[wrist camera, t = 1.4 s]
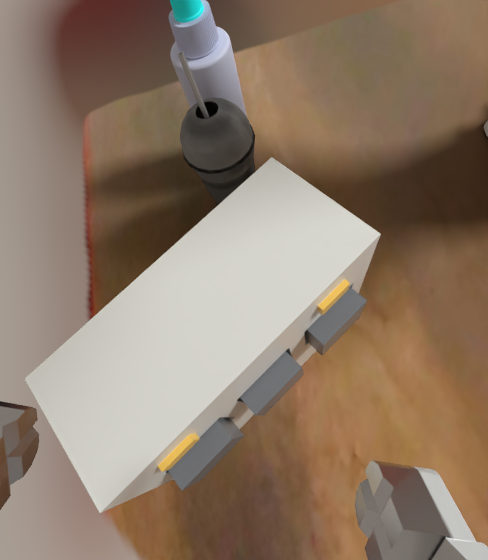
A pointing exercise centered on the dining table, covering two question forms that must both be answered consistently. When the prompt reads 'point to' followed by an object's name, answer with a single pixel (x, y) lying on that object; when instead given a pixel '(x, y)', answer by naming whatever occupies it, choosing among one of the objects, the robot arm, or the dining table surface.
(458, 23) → the dining table surface
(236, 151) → the beverage cup
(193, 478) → the key
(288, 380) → the key middle
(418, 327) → the dining table surface
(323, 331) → the key
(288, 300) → the key panel
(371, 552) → the robot arm
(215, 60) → the spray bottle
